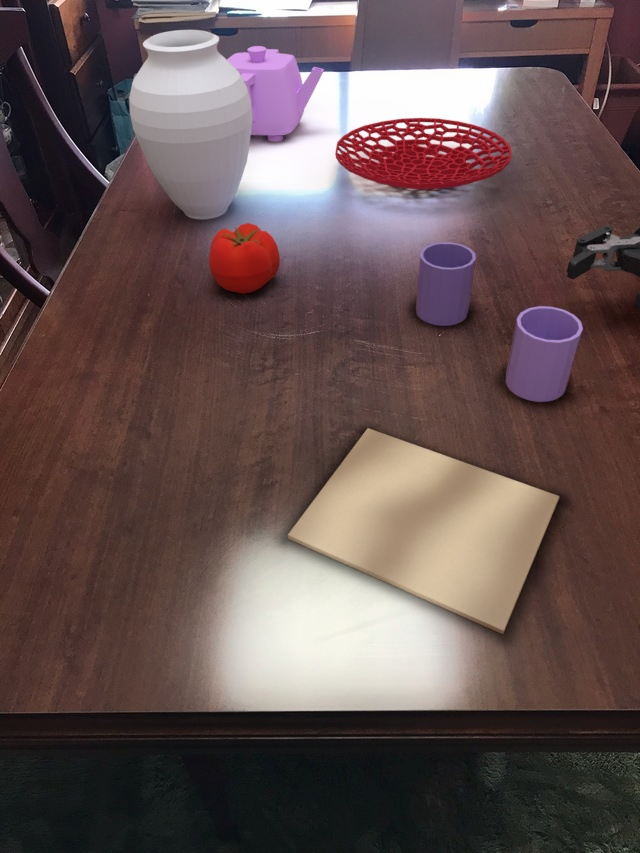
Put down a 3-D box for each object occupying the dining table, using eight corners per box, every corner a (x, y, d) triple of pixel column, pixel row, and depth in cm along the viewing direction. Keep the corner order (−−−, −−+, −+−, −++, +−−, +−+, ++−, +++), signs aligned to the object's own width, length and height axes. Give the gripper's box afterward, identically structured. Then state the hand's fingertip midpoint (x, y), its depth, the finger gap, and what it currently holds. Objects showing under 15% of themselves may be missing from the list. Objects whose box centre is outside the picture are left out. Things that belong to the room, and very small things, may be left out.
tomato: (211, 302, 91) (203, 251, 86) (215, 268, 98) (208, 219, 93) (281, 299, 91) (277, 248, 86) (281, 265, 98) (278, 216, 93)
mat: (558, 500, 64) (559, 496, 64) (502, 634, 54) (504, 630, 54) (367, 431, 72) (367, 427, 72) (287, 539, 62) (287, 534, 62)
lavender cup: (572, 375, 78) (589, 316, 73) (556, 409, 74) (573, 348, 68) (515, 359, 81) (528, 300, 75) (497, 391, 76) (508, 331, 71)
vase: (241, 239, 104) (221, 58, 87) (132, 230, 107) (92, 53, 90) (273, 190, 117) (260, 23, 100) (174, 183, 120) (146, 21, 103)
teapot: (200, 128, 140) (188, 45, 129) (276, 108, 147) (271, 29, 137) (248, 157, 128) (240, 69, 118) (327, 134, 135) (326, 50, 125)
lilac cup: (475, 305, 89) (483, 249, 84) (456, 331, 85) (463, 274, 80) (427, 293, 92) (432, 237, 86) (407, 317, 87) (411, 261, 82)
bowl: (357, 140, 133) (357, 113, 129) (513, 152, 126) (517, 123, 123) (315, 205, 112) (314, 175, 109) (499, 224, 106) (504, 192, 102)
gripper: (635, 189, 85) (556, 232, 78) (751, 229, 77) (675, 281, 69) (619, 245, 90) (543, 290, 83) (726, 287, 82) (652, 341, 75)
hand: (603, 285), depth 76 cm, fingers open, 8 cm apart
